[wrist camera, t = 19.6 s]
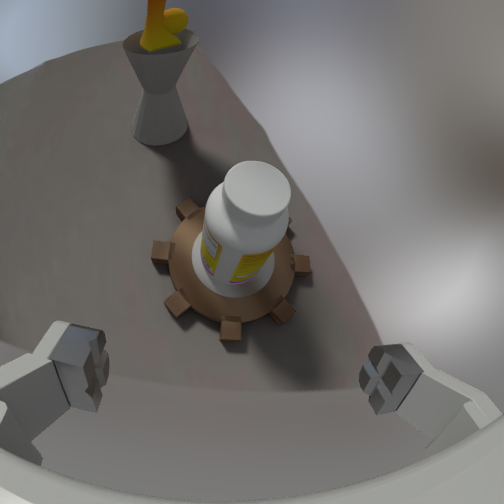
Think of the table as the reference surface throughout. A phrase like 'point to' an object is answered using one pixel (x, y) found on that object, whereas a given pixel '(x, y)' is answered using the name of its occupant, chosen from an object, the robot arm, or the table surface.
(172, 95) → the lava lamp
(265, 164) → the supplement bottle
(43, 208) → the table surface
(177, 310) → the gear platform
